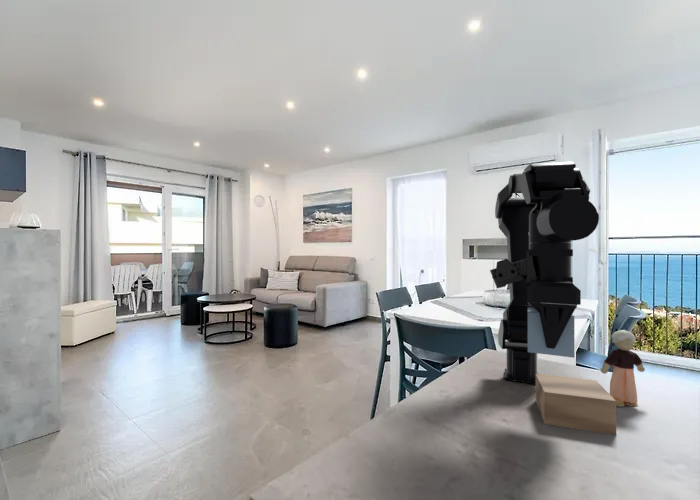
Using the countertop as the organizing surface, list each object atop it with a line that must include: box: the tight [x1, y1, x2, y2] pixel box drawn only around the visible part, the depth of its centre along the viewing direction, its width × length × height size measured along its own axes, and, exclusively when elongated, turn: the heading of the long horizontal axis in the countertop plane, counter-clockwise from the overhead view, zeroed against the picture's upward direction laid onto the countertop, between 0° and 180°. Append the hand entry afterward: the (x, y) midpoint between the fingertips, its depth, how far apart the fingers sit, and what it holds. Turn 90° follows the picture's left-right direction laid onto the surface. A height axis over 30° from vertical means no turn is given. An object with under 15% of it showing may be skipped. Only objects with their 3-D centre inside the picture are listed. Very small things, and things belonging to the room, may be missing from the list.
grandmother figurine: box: [600, 329, 646, 407], centre depth 60 cm, size 8×4×13 cm, turn 105°
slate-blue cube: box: [528, 307, 575, 359], centre depth 54 cm, size 6×6×6 cm
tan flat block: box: [535, 373, 617, 436], centre depth 55 cm, size 9×9×5 cm
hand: (549, 343), depth 54 cm, fingers closed on slate-blue cube, 6 cm apart
